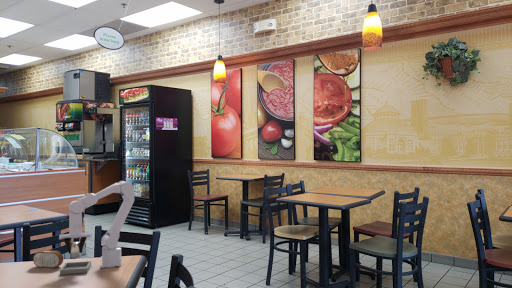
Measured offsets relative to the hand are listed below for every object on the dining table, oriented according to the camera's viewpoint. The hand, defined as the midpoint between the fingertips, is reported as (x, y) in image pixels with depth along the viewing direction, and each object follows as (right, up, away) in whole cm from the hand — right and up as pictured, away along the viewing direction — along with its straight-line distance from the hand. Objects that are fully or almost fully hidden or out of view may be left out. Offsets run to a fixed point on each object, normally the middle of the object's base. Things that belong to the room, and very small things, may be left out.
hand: (75, 252), depth 190 cm
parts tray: (0, -9, +1) cm, 9 cm away
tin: (-17, -9, +6) cm, 20 cm away
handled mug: (0, -2, 0) cm, 2 cm away
